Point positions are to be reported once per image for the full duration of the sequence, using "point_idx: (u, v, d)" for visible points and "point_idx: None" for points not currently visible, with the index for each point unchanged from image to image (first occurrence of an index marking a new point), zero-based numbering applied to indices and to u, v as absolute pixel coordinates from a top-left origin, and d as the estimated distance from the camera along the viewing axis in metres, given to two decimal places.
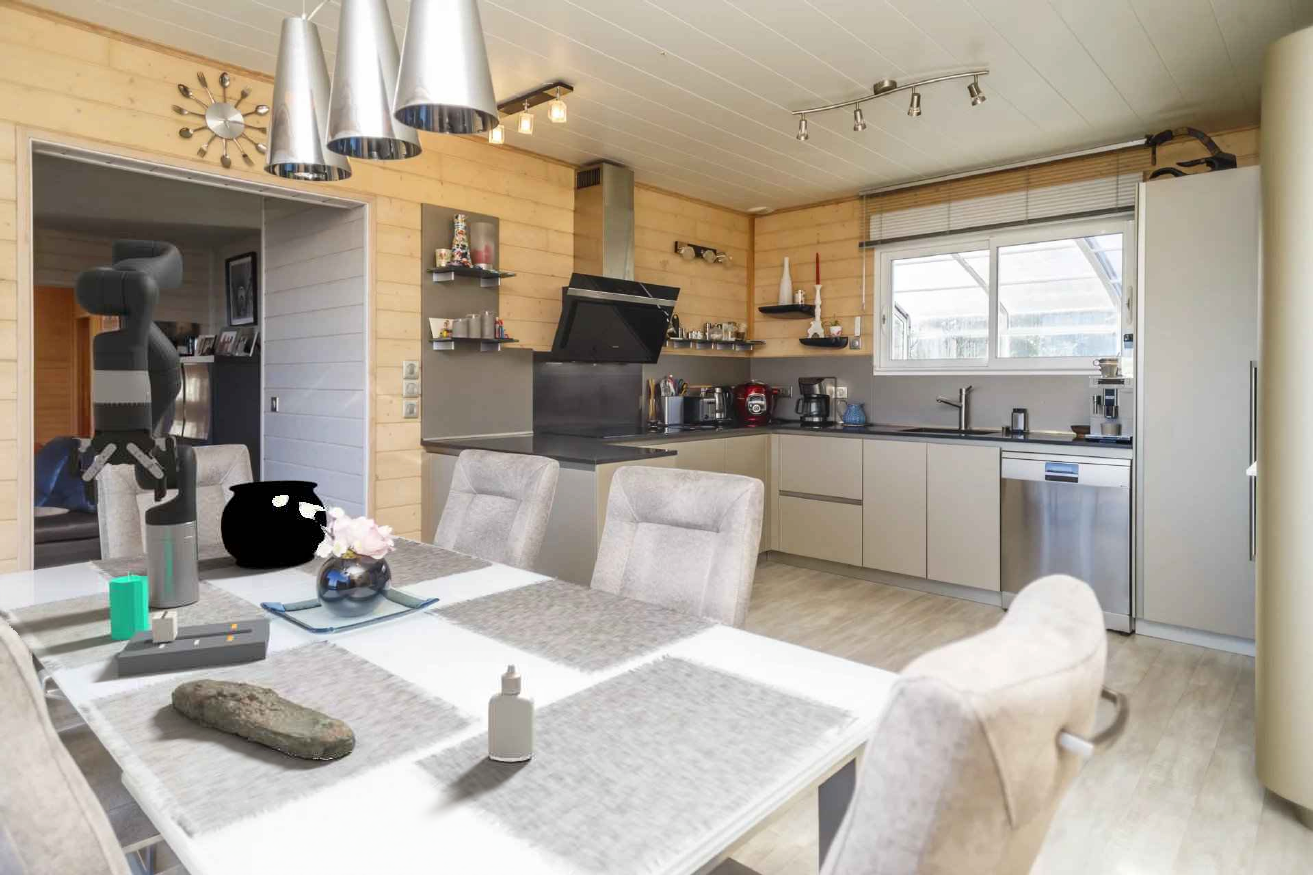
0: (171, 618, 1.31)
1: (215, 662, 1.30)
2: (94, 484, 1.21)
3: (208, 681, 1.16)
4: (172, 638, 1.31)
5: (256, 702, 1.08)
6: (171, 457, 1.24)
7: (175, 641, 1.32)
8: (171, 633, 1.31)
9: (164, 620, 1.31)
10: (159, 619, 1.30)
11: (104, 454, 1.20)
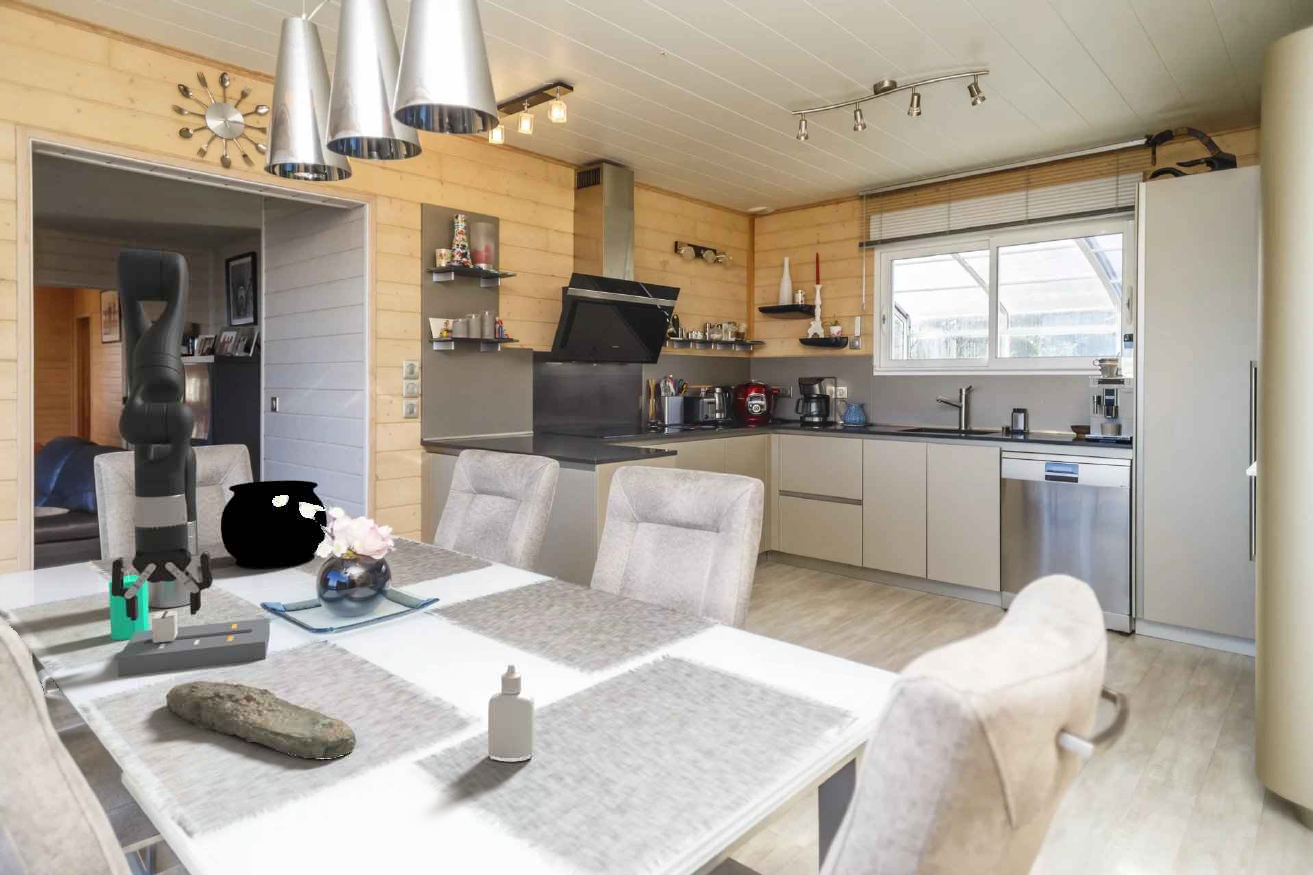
0: (171, 618, 1.31)
1: (215, 662, 1.30)
2: (135, 601, 1.30)
3: (202, 683, 1.15)
4: (172, 638, 1.31)
5: (254, 703, 1.07)
6: (206, 572, 1.33)
7: (175, 641, 1.32)
8: (171, 633, 1.31)
9: (164, 620, 1.31)
10: (159, 619, 1.30)
11: (145, 573, 1.29)
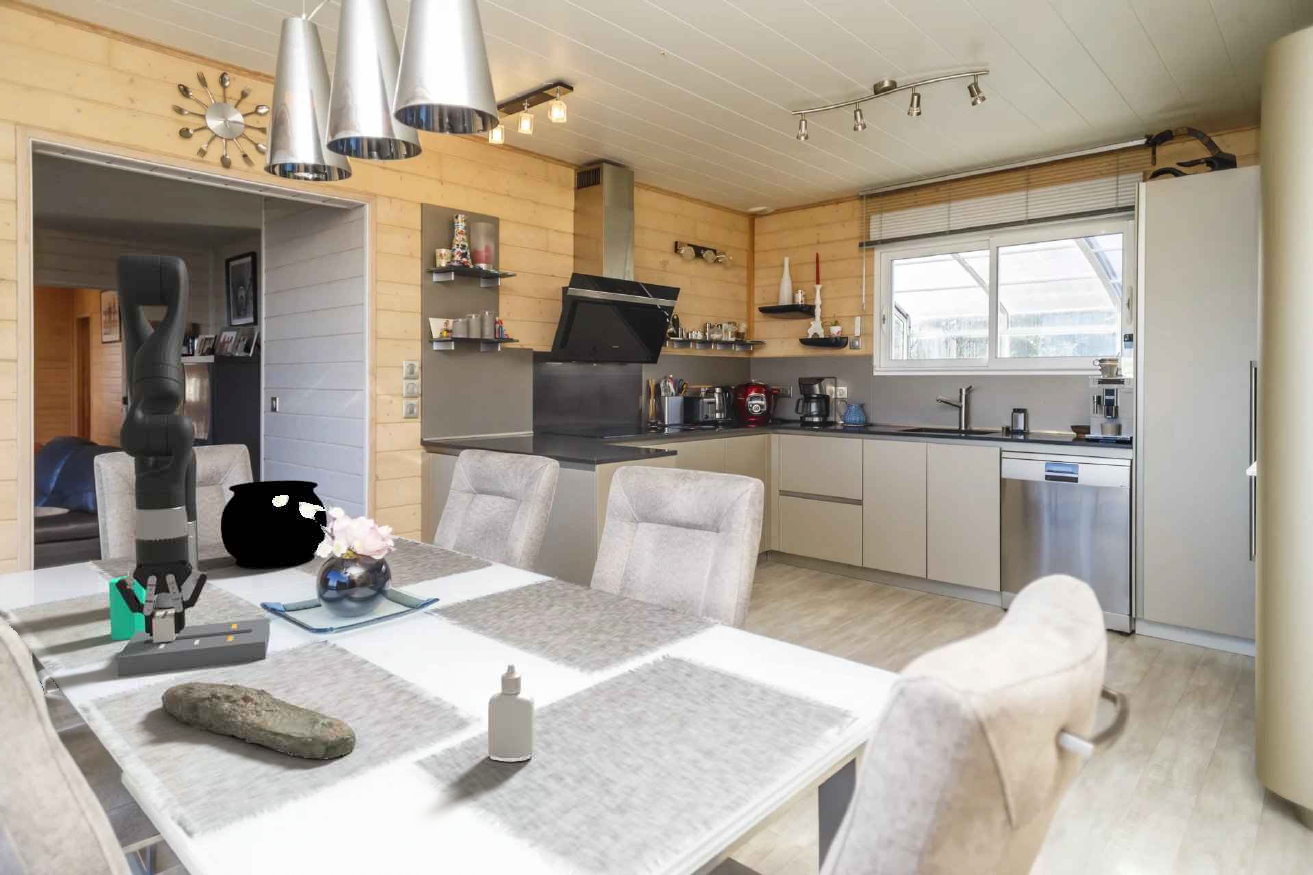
0: (171, 618, 1.31)
1: (215, 662, 1.30)
2: (153, 617, 1.31)
3: (198, 684, 1.15)
4: (172, 638, 1.31)
5: (251, 703, 1.07)
6: (196, 592, 1.33)
7: (175, 641, 1.32)
8: (171, 633, 1.31)
9: (164, 620, 1.31)
10: (159, 619, 1.30)
11: (150, 587, 1.30)
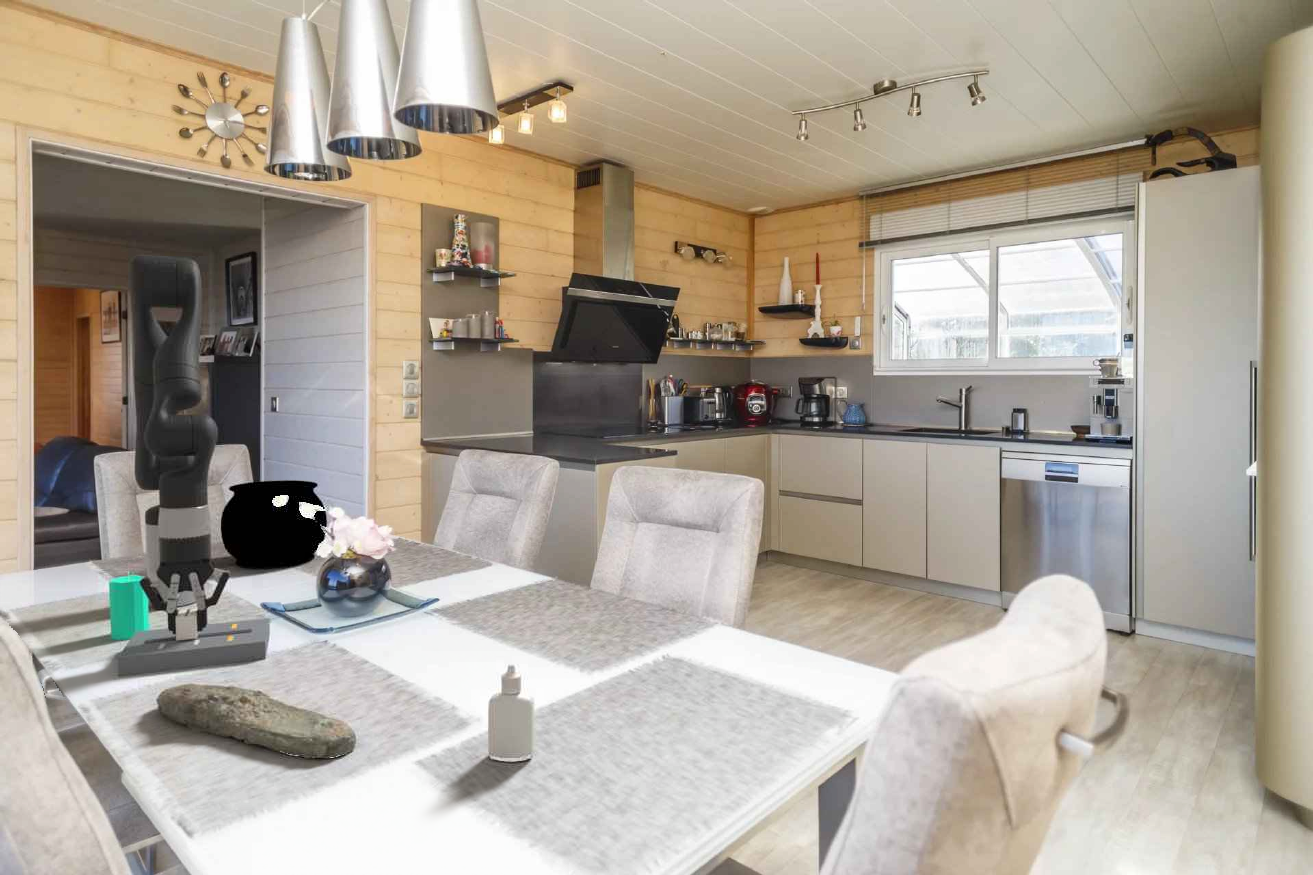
0: (194, 616, 1.32)
1: (215, 662, 1.30)
2: (176, 615, 1.32)
3: (193, 686, 1.14)
4: (195, 636, 1.33)
5: (249, 705, 1.07)
6: (219, 591, 1.34)
7: (175, 641, 1.32)
8: (194, 630, 1.33)
9: (187, 618, 1.32)
10: (182, 617, 1.32)
11: (173, 585, 1.31)
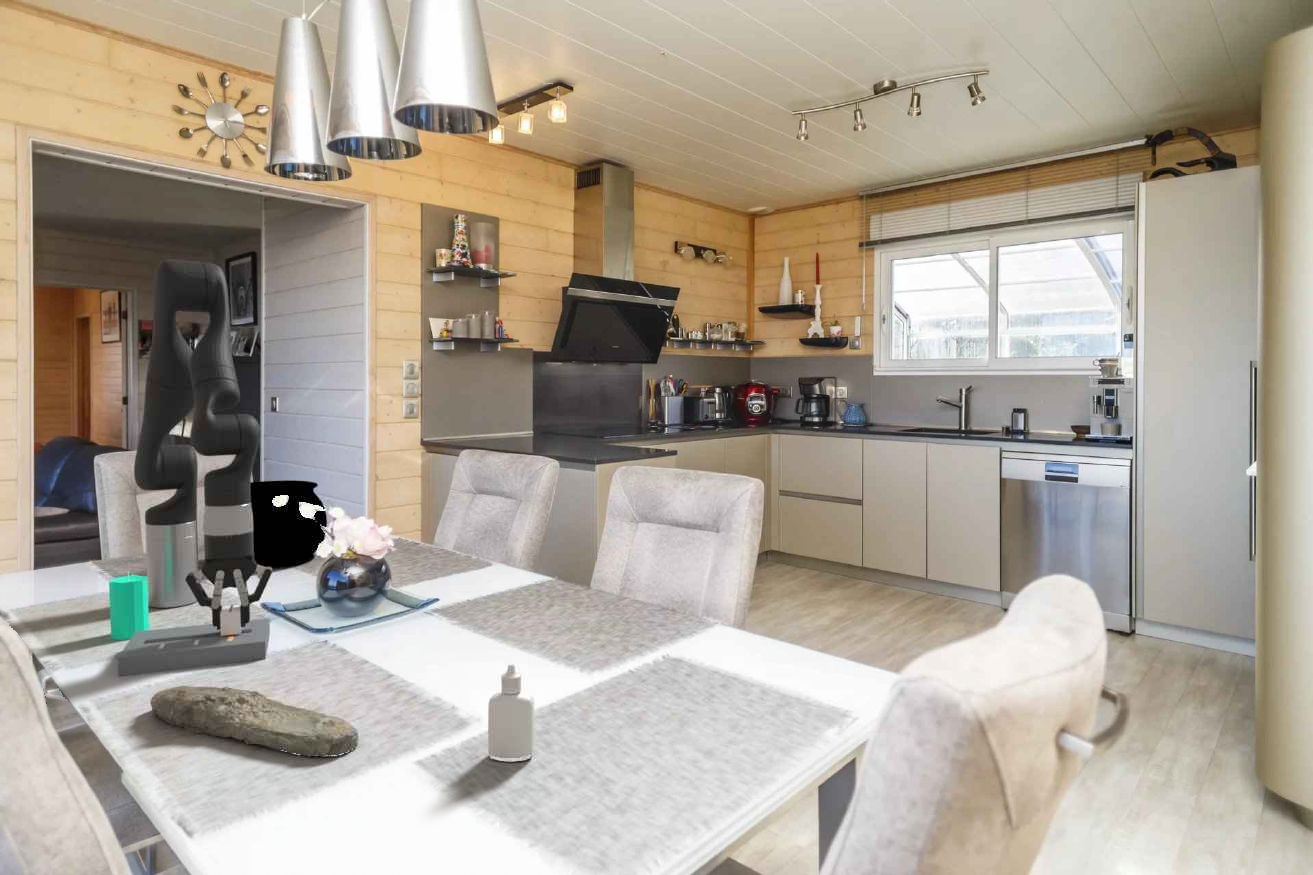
0: (238, 612, 1.35)
1: (215, 662, 1.30)
2: None
3: (186, 687, 1.13)
4: (239, 631, 1.35)
5: (247, 705, 1.07)
6: (261, 587, 1.37)
7: (175, 641, 1.32)
8: (238, 626, 1.35)
9: (231, 614, 1.35)
10: (227, 613, 1.34)
11: (218, 581, 1.34)
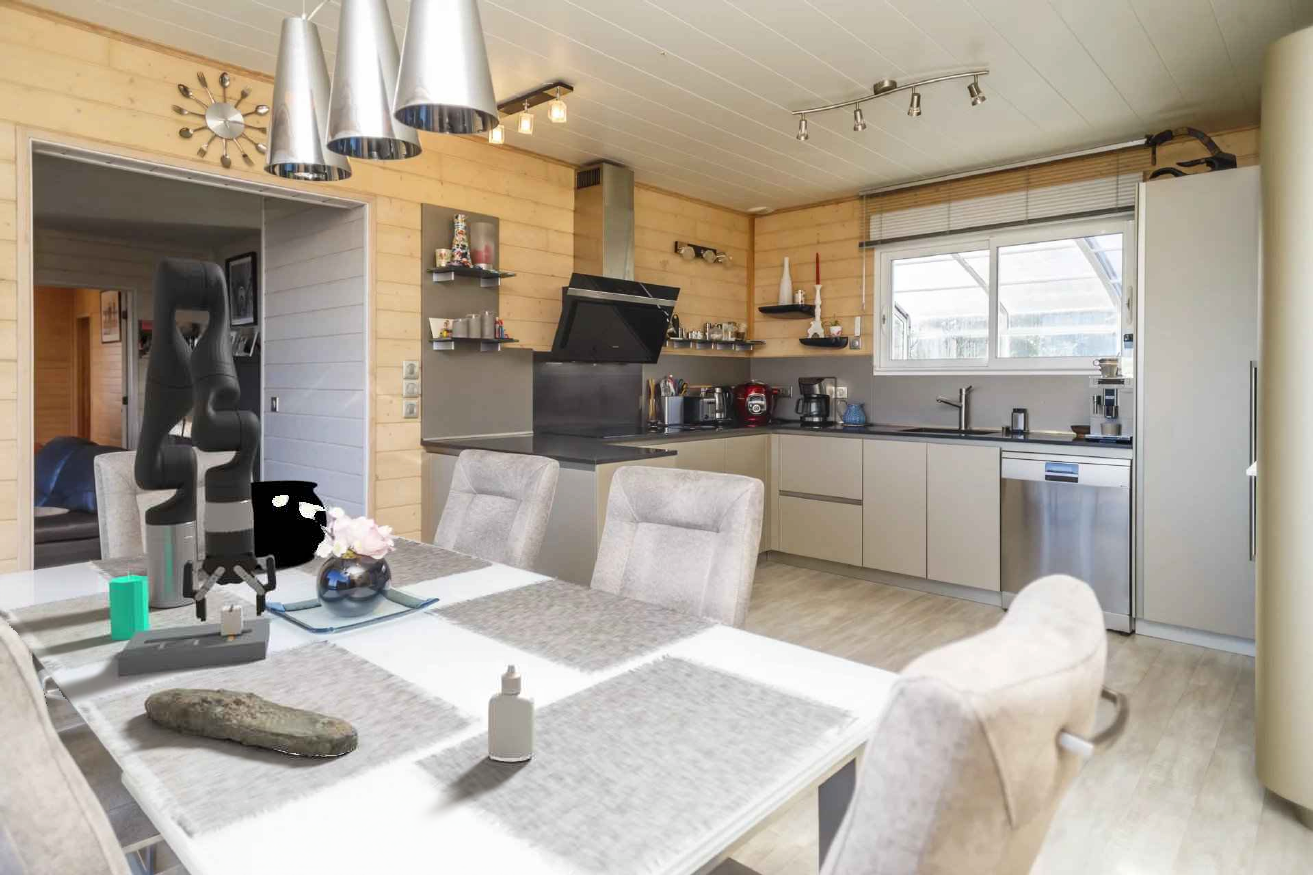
0: (238, 612, 1.35)
1: (215, 662, 1.30)
2: (204, 603, 1.34)
3: (180, 690, 1.12)
4: (239, 631, 1.35)
5: (244, 706, 1.06)
6: (271, 575, 1.38)
7: (175, 641, 1.32)
8: (238, 626, 1.35)
9: (231, 614, 1.35)
10: (227, 612, 1.34)
11: (214, 576, 1.33)
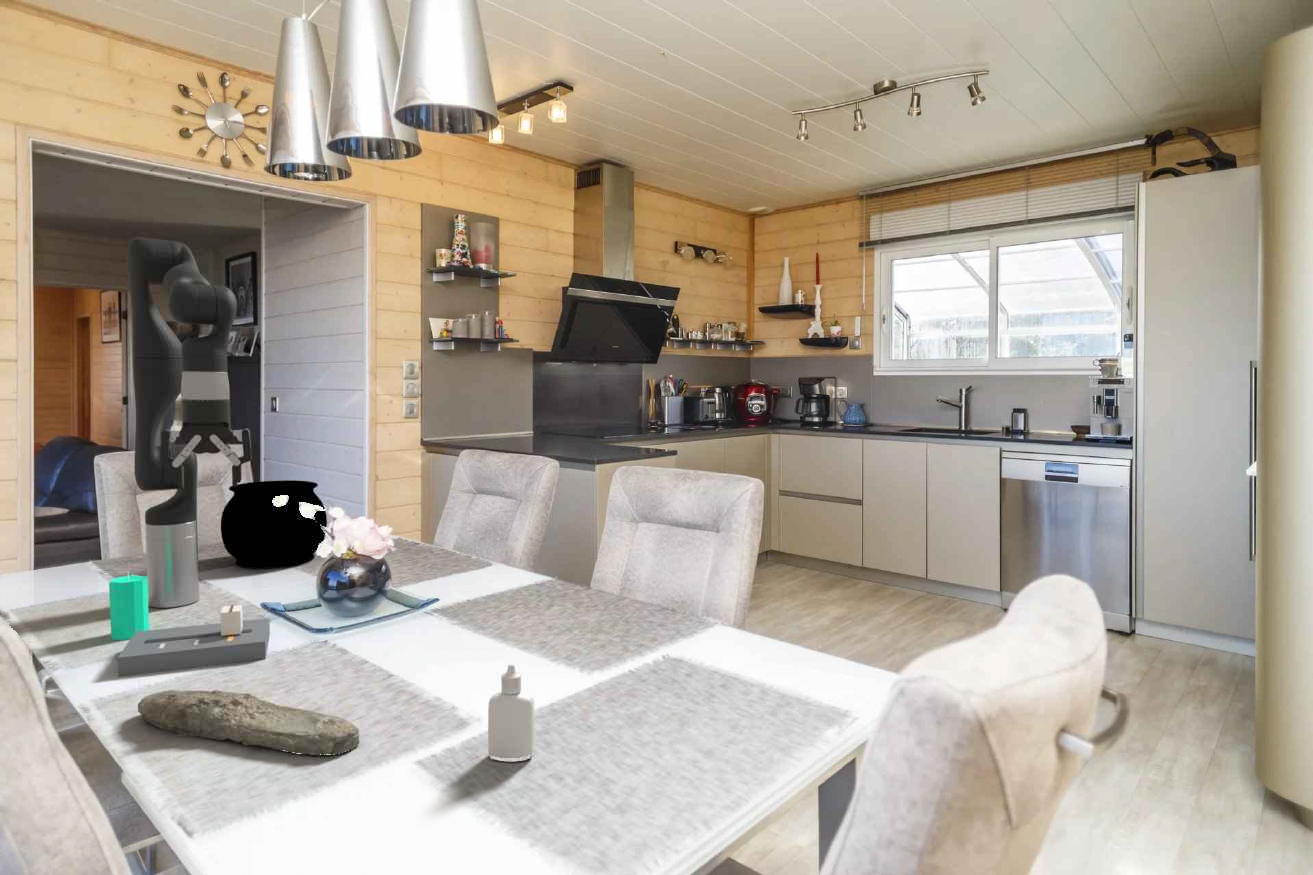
0: (238, 612, 1.35)
1: (215, 662, 1.30)
2: (182, 470, 1.39)
3: (173, 692, 1.12)
4: (239, 631, 1.35)
5: (241, 707, 1.06)
6: (247, 447, 1.42)
7: (175, 641, 1.32)
8: (238, 626, 1.35)
9: (231, 614, 1.35)
10: (227, 612, 1.34)
11: (191, 444, 1.38)
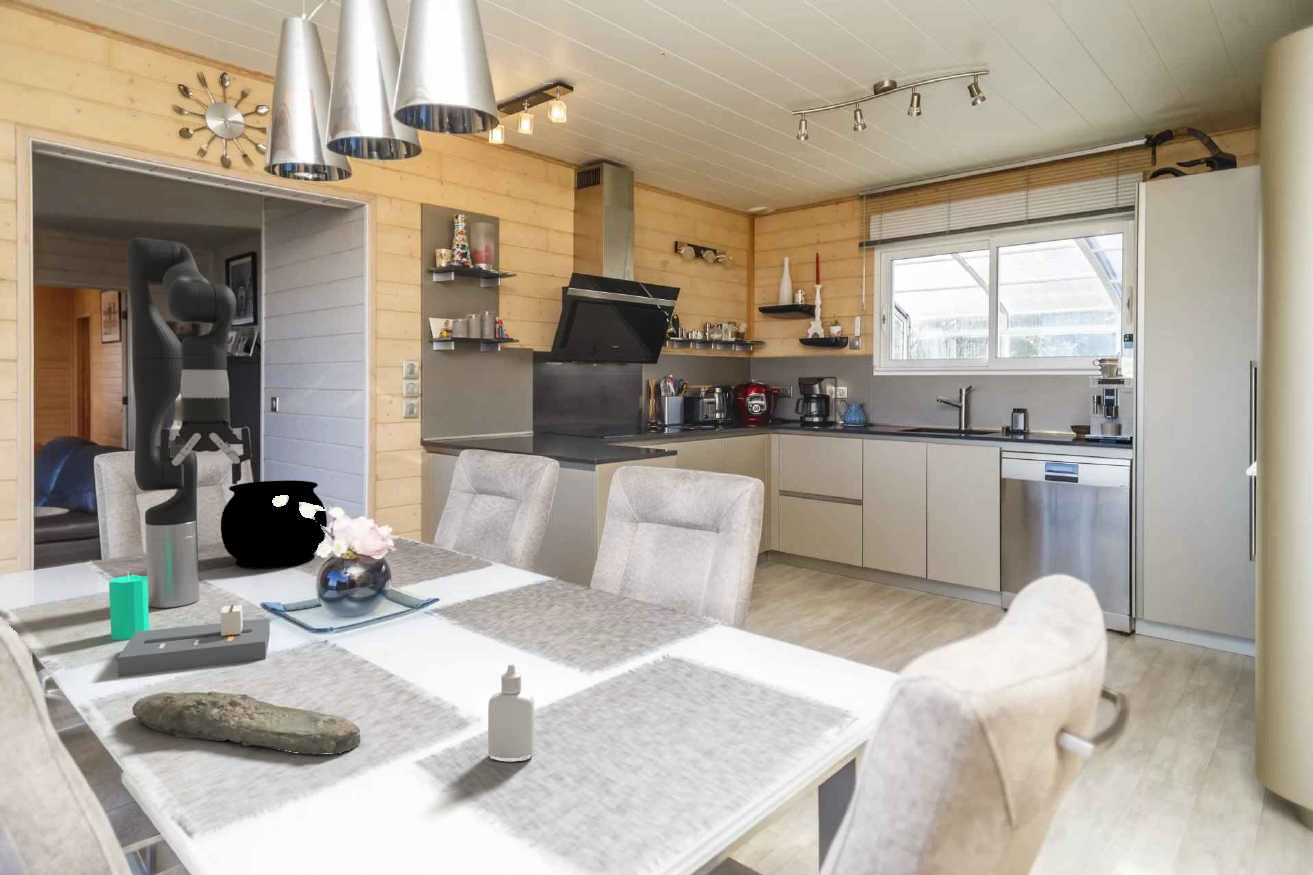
0: (238, 612, 1.35)
1: (215, 662, 1.30)
2: (181, 468, 1.39)
3: (168, 694, 1.11)
4: (239, 631, 1.35)
5: (239, 708, 1.06)
6: (246, 445, 1.42)
7: (175, 641, 1.32)
8: (238, 626, 1.35)
9: (231, 614, 1.35)
10: (227, 612, 1.34)
11: (190, 442, 1.38)
